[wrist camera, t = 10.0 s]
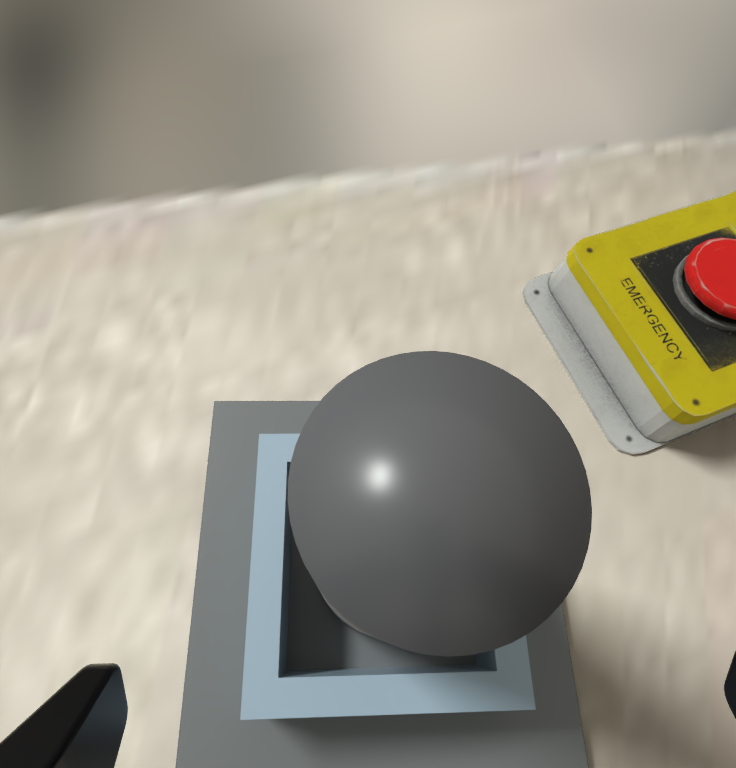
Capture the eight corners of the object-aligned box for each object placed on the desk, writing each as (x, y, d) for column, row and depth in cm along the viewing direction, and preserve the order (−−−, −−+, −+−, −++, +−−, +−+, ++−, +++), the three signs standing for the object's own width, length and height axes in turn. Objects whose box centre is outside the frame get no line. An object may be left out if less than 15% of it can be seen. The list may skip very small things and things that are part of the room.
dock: (585, 775, 17) (632, 805, 14) (176, 793, 16) (143, 827, 14) (525, 404, 22) (551, 373, 20) (216, 405, 22) (198, 373, 19)
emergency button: (542, 229, 21) (822, 145, 24) (511, 291, 25) (754, 212, 28) (675, 431, 18) (983, 305, 21) (615, 466, 22) (880, 355, 25)
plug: (463, 593, 19) (655, 547, 7) (355, 661, 18) (385, 731, 6) (400, 486, 20) (479, 310, 9) (297, 543, 19) (237, 427, 8)
